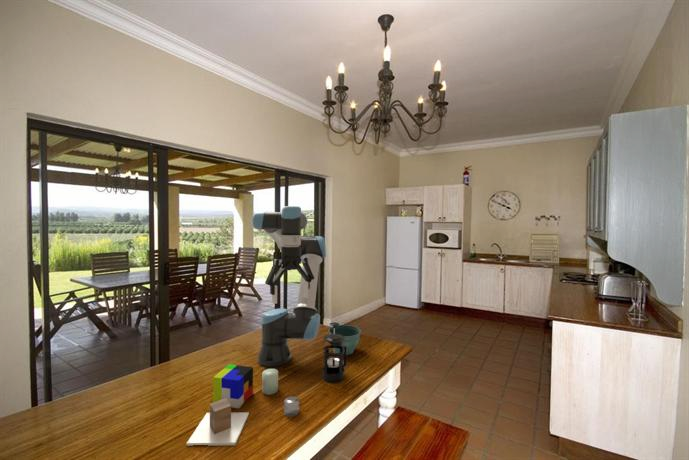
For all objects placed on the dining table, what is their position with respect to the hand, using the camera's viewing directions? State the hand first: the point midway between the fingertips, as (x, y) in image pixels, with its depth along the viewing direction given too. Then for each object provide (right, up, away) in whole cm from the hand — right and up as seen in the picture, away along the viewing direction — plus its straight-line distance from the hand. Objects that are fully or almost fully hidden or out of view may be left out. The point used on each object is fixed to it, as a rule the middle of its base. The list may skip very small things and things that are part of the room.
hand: (290, 300), depth 119 cm
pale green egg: (-8, -35, -1) cm, 36 cm away
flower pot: (+21, -34, +35) cm, 53 cm away
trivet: (-18, -35, -23) cm, 46 cm away
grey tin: (+3, -35, -14) cm, 38 cm away
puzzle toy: (-20, -35, -7) cm, 41 cm away
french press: (+17, -35, +10) cm, 40 cm away
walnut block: (-18, -34, -23) cm, 45 cm away
